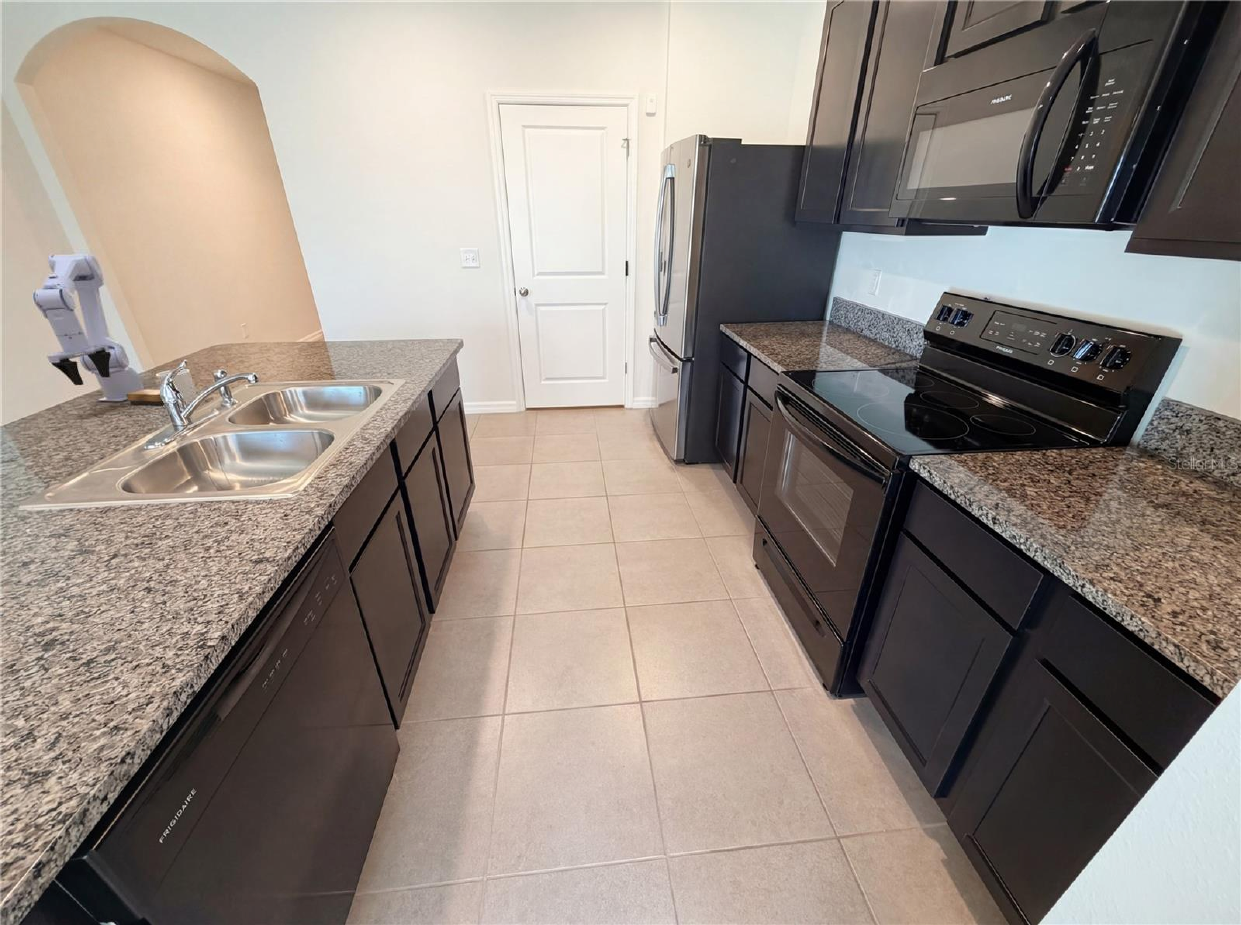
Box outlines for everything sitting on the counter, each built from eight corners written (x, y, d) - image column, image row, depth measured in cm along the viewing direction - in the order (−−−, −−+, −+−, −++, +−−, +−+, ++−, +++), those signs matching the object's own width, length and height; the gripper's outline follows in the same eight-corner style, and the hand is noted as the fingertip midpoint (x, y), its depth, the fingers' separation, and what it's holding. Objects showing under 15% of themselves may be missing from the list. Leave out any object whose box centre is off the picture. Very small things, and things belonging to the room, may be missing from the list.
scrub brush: (130, 404, 156) (125, 393, 155) (144, 400, 161) (139, 389, 159) (163, 405, 156) (158, 394, 154) (175, 401, 160) (171, 390, 158)
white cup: (163, 406, 155) (149, 375, 150) (189, 398, 162) (177, 368, 157) (181, 409, 153) (168, 377, 148) (207, 400, 159) (195, 370, 155)
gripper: (54, 339, 135) (79, 388, 141) (109, 328, 148) (129, 374, 154) (31, 339, 135) (56, 388, 141) (87, 328, 148) (108, 373, 154)
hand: (92, 380), depth 147 cm, fingers open, 7 cm apart
